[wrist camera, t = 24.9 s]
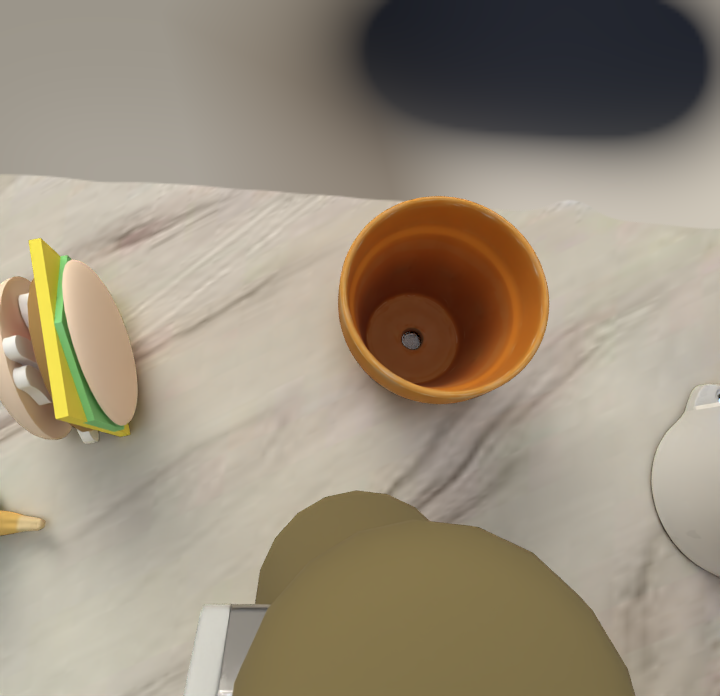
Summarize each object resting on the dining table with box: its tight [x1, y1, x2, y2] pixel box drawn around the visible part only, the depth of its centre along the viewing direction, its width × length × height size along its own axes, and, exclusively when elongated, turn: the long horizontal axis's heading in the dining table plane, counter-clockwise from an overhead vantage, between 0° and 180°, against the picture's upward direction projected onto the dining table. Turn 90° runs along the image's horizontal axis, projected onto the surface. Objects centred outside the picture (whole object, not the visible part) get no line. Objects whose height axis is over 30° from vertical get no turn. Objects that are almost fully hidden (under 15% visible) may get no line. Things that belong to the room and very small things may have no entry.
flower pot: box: [338, 196, 549, 404], centre depth 43 cm, size 14×14×13 cm
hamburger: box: [0, 238, 138, 444], centre depth 40 cm, size 12×8×12 cm
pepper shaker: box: [232, 491, 635, 696], centre depth 11 cm, size 6×6×11 cm
